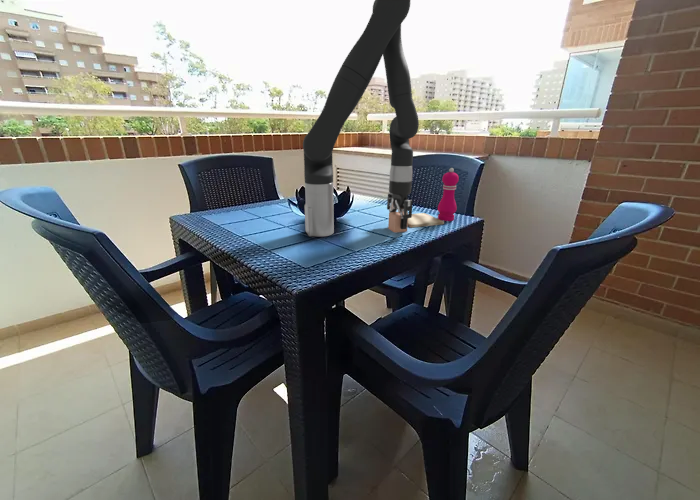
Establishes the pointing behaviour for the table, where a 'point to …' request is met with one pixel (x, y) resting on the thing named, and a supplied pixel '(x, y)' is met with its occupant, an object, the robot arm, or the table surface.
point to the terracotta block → (395, 222)
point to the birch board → (423, 220)
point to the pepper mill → (448, 196)
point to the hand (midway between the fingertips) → (397, 225)
